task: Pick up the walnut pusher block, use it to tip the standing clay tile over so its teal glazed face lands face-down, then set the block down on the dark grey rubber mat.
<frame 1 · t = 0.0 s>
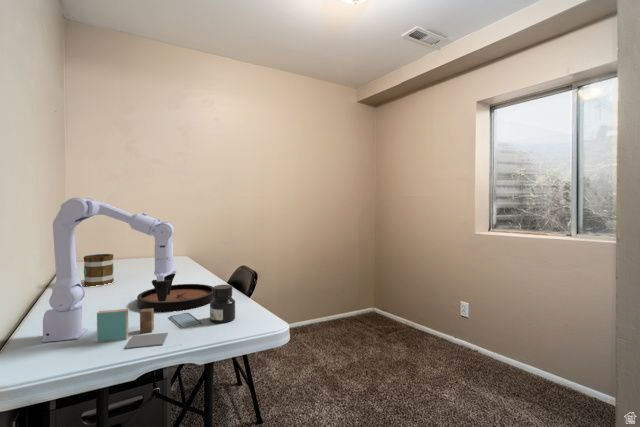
hand: (164, 297, 112), 10 cm above the table, tool pointing down, fingers open, 7 cm apart
clay tile: (112, 339, 102), on the table
pusher block: (147, 331, 109), on the table
ink bottle: (222, 319, 120), on the table
wall clock: (178, 301, 144), on the table
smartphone: (185, 322, 119), on the table
mug: (97, 283, 176), on the table
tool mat: (147, 341, 101), on the table
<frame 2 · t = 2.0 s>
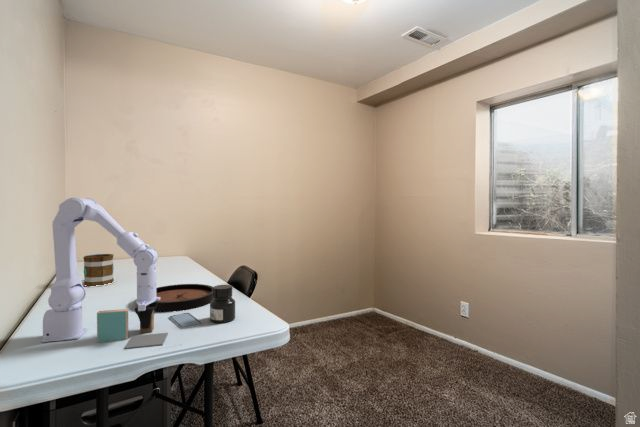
hand: (147, 326, 109), 2 cm above the table, tool pointing down, fingers closed on pusher block, 3 cm apart
pusher block: (147, 331, 109), on the table, touching gripper
everything else where it was.
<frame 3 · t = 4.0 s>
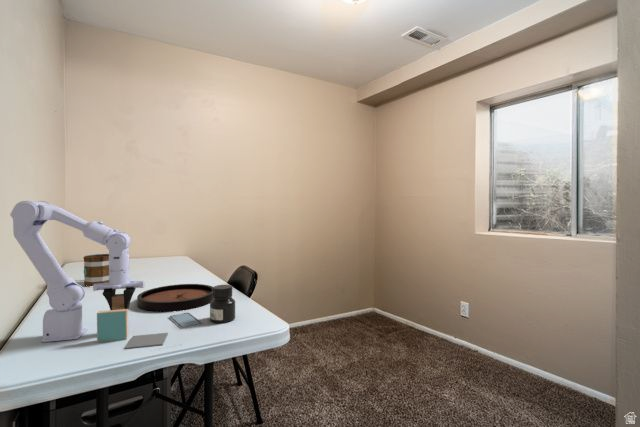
hand: (119, 310, 108), 7 cm above the table, tool pointing down, fingers closed on pusher block, 3 cm apart
pusher block: (119, 316, 108), point 5 cm above the table, touching gripper
everything else where it was.
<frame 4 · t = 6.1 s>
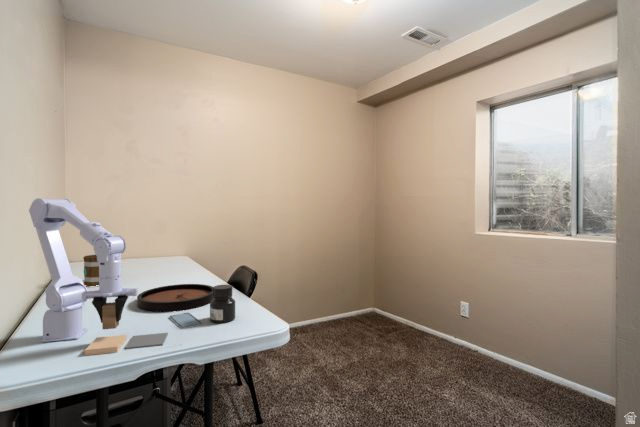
hand: (111, 320, 100), 6 cm above the table, tool pointing down, fingers closed on pusher block, 3 cm apart
clay tile: (111, 339, 101), point 1 cm above the table, tilted 90°
pusher block: (110, 326, 100), point 5 cm above the table, touching gripper
everything else where it was.
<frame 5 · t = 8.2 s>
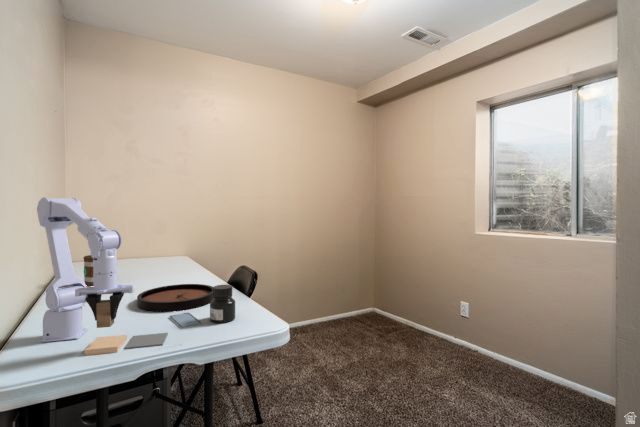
hand: (105, 318, 96), 8 cm above the table, tool pointing down, fingers closed on pusher block, 3 cm apart
pusher block: (105, 325, 96), point 7 cm above the table, touching gripper
everything else where it was.
when the fingers open (4 cm above the table, at t = 10.3 s): pusher block drops 1 cm, resting on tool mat.
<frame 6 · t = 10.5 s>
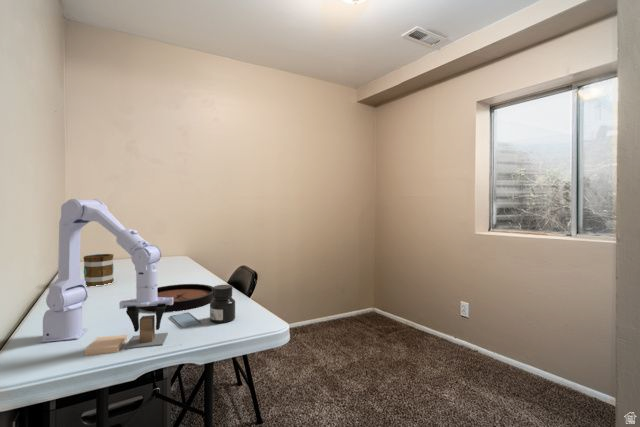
hand: (147, 329, 101), 4 cm above the table, tool pointing down, fingers open, 5 cm apart
pusher block: (147, 340, 101), resting on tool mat
everything else where it was.
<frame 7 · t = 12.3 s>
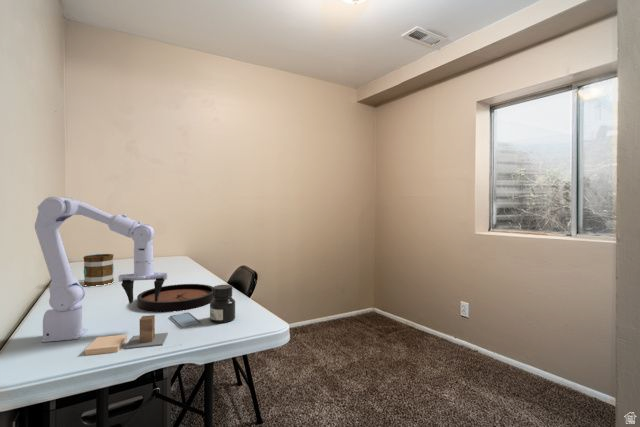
hand: (144, 301, 110), 9 cm above the table, tool pointing down, fingers open, 7 cm apart
nothing on the table moved.
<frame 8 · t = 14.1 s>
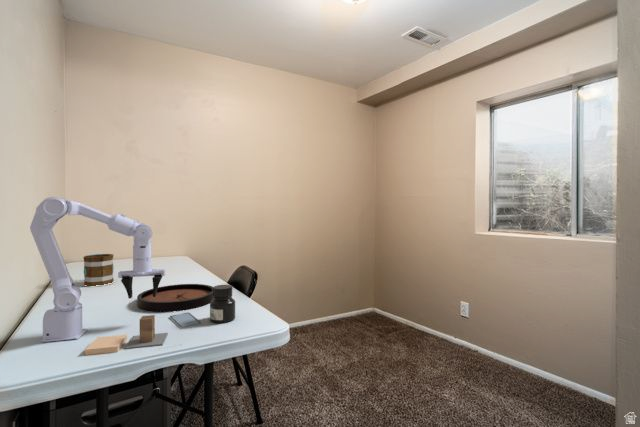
hand: (142, 296, 116), 9 cm above the table, tool pointing down, fingers open, 7 cm apart
nothing on the table moved.
at the end: clay tile tilted 90°; clay tile inside the target area (1.1 cm from its centre), point 0.5 cm above the table; pusher block 0.3 cm from the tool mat (horizontally) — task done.
